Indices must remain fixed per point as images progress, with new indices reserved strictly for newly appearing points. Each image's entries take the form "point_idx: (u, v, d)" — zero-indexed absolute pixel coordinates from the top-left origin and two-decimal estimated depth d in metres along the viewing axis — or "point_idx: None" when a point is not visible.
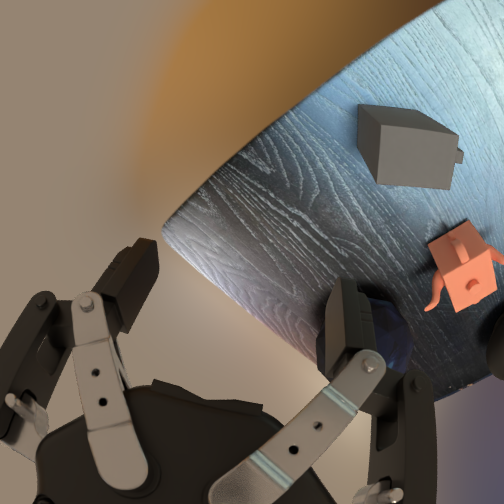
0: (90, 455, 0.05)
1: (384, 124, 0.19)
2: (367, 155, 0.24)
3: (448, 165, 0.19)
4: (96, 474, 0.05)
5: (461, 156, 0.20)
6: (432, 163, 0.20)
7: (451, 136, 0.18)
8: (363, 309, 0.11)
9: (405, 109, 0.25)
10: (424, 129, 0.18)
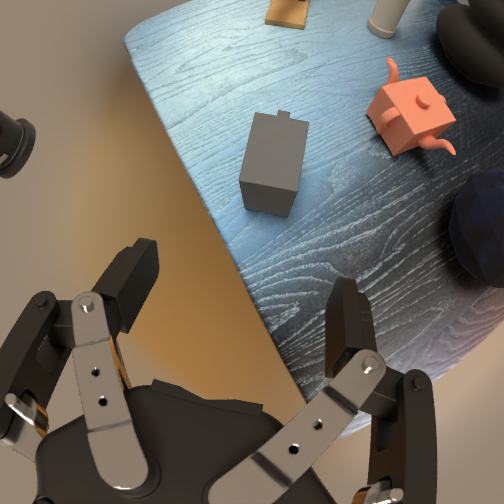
0: (90, 455, 0.05)
1: None
2: (281, 202, 0.28)
3: (283, 122, 0.25)
4: (96, 474, 0.05)
5: (282, 112, 0.27)
6: (280, 137, 0.25)
7: (255, 118, 0.25)
8: (363, 309, 0.11)
9: None
10: None
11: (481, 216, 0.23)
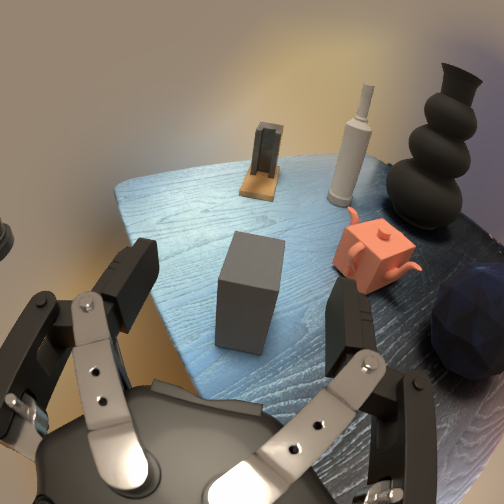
0: (90, 455, 0.05)
1: None
2: (259, 320, 0.26)
3: (261, 239, 0.29)
4: (96, 474, 0.05)
5: None
6: (259, 249, 0.27)
7: (235, 235, 0.29)
8: (363, 309, 0.11)
9: None
10: None
11: (462, 302, 0.25)
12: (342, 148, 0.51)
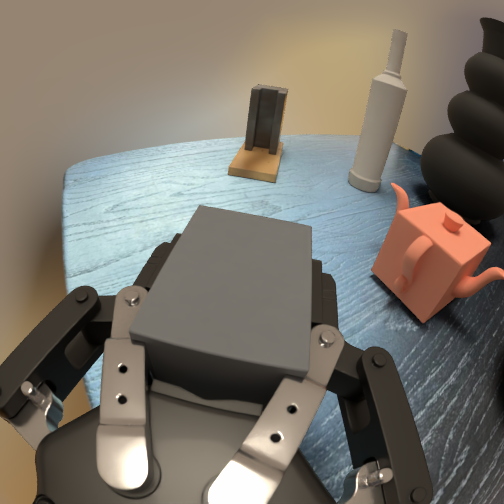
0: (90, 455, 0.05)
1: None
2: None
3: (258, 223, 0.12)
4: (96, 474, 0.05)
5: None
6: (252, 246, 0.11)
7: (198, 213, 0.12)
8: (328, 289, 0.12)
9: None
10: (172, 253, 0.10)
11: None
12: (369, 112, 0.35)
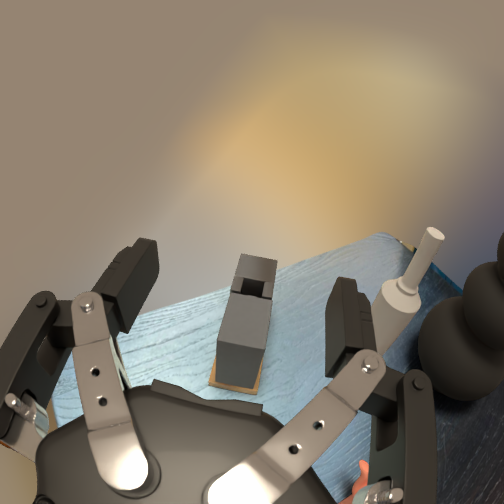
0: (90, 455, 0.05)
1: None
2: (250, 367, 0.32)
3: (252, 300, 0.34)
4: (96, 474, 0.05)
5: None
6: (250, 311, 0.33)
7: (231, 296, 0.34)
8: (363, 309, 0.11)
9: None
10: (224, 314, 0.32)
11: None
12: None
